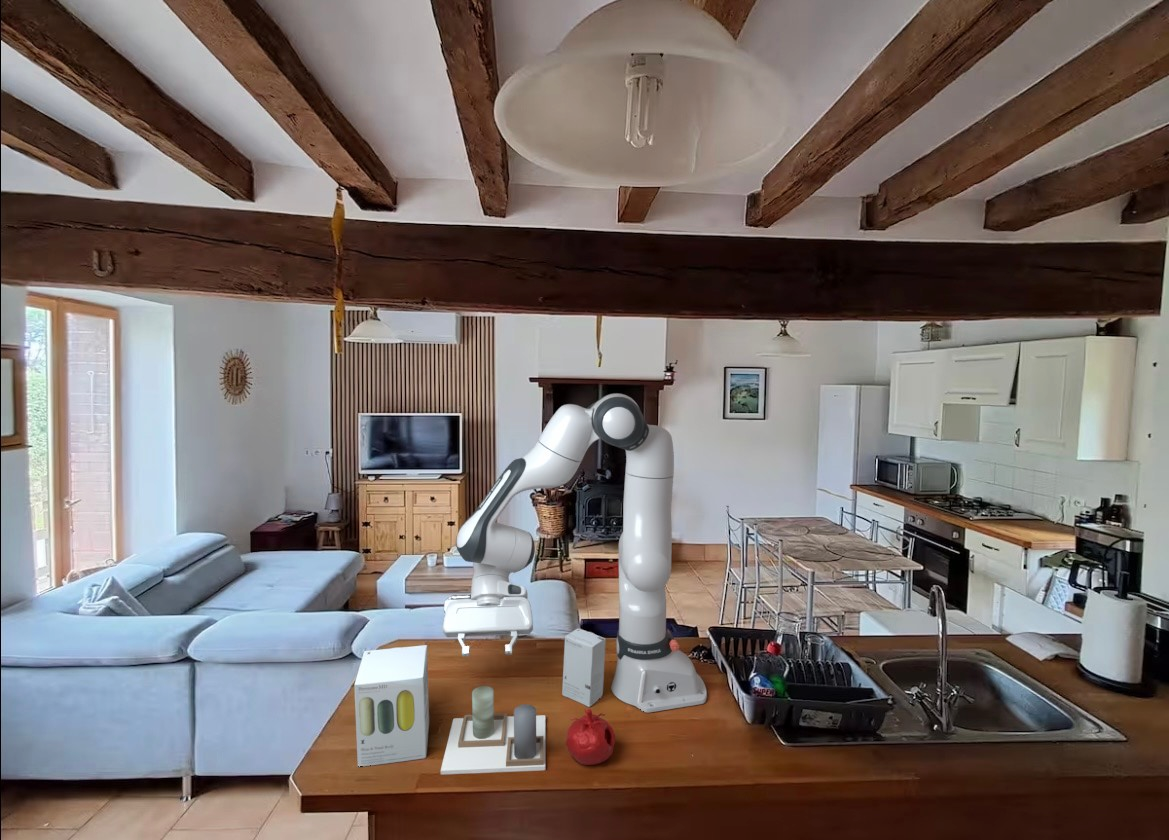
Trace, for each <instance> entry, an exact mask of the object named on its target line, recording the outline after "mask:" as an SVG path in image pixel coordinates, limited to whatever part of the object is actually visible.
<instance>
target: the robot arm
mask: <svg viewBox="0 0 1169 840" xmlns="http://www.w3.org/2000/svg"><path fill="white" fill-rule="evenodd" d="M600 439H601V440H602V441H603V442H604V443H607V444H608V445H611V446H614V447H616V448H620V449H623V450H625V456H626V458H625V460H626V461H625V462H626V463H625V475H624V490H623V503H622V505H623V507H622V508H623V509H622V510H623V517H622V518H623V519H622V520H623V522H622V523H623V524H622V525H623V526H622V532H621V534H620V537H619V541H618V589H619V590H618V593H619V594H618V597H619V599H618V600H619V603H618V604H619V609H618V610H619V612H618V613H619V615H618V621H619V622H618V630H617V631H616V632H617V634H616V635H617V636H616V648H615V649H616V654H617V659H616V667H615V672H614V675H613V680H612V683H611V688H610V689H611V691H612V693H613V695H614V696H615V697H616V698H617V699H619V700H620V701H622V702H623V703H625V704H628V705H631V706H634V707H636V708H638V709H639V710H640V709H641V710H640V711H642V712H643V711H644V712H643V713H648V714H649V713H653V712H654V713H655V712H661V711H667V710H672V709H673V710H674V709H679V708H684V707H685V708H686V707H692V706H697V705H703V704H705V703H706V701H707V698H708V694H707V693H708V692H707V688H706V684H705V682H704V680H703V679H702V677H701V676H700V675H699V674H698V673H697V672H696V667H695V666H694V664H693V662H692V660H691V659H690V658H689V656H688V655H687V654H686V653H684V652H683V651H681V650H680V644H679V643H678V641H677V640H676V639H675V638H674V635H673V634H672V633H671V631H670V630H669V629H668V628H667V595H666V585H667V583H668V582H669V581H670V578H671V572H672V553H673V552H672V547H673V546H672V545H673V544H672V541H673V540H672V539H673V538H672V536H673V533H672V532H673V531H672V503H673V502H672V501H673V486H674V473H675V471H674V470H675V455H674V454H675V453H674V444H673V442H674V441H673V437H672V435H671V433H670V431H669V430H667V429H665V428H664V427H662V426H659V425H655V424H649V423H647V422H646V419H645V417H644V415H643V413H642V411H641V409H640V407H639V405H638V403H637V402H636V401H635V400H634V399H633V398H632V397H630V396H629V395H627V394H625V393H624V394H623V393H619V392H613V393H608V394H606V395H603V396H602V397H601V398H599V399H598V400H596V401H595V402H593V403H592V404H590V405H589V406H587V407H586V408H585V407H583V406H580V405H578V404H573V403H567V404H563V405H561V406H560V407H559V408H558V409H557V410H556V411H555V413H554V414H553V415H552V416H551V418H550V419H549V421H548V423H547V424H546V426H545V428H543V431H542V432H541V435H540V436H539V438H538V440H537V442H536V443H535V445H534V446H533V447H532V448H531V449H530V451H529V452H527V453H526V454H525V455H524V456H522V457H520V458H515V459H514V460H512V461H511V462H510V464H509V465H507V467H506V468H505V469H504V471H503V472H502V473H501V474H500V476H499V477H498V479H497V480H496V481H495V483H494V484H493V486H491V488H490V489H489V491H488V492H487V494H486V495H485V497H484V498H483V499H482V500H481V502H480V504H479V505H478V507H477V508H476V509H475V510H474V512H473V513H472V514H471V515H470V516H469V517H468V518H467V519H466V520H465V521H464V522H463V523H462V525H461V526H460V528H459V530H458V531H457V535H456V537H455V547H456V549H457V552H458V554H459V555H460V557H461V558H462V560H464V561H465V562H468V563H472V568H473V575H472V578H471V587H470V588H471V589H470V594H461V595H460V594H459V595H458V594H454V595H451V596H450V597H448V598H446V600H445V601H444V604H443V612H444V616H443V617H444V618H443V622H442V632H443V634H444V636H445V637H446V638H457V640H458V642H459V644H460V646H461V656H462V658H464V657H470V652H471V651H470V646H469V645H467V646H466V644H465V642H466V637H487V636H489V637H490V636H510V638H511V640H510V643H509V644H505V645H504V647H505V651H504V654H505V655H506V656H509V655H513V647H514V646H515V644H516V642H517V641H518V635H530V634H531V633H532V631H533V630H534V622H533V612H532V607H531V602H530V601H529V599H528V591H527V587H525V586H523V585H520V584H517V583H516V584H515V583H513V582H510V580H509V576H510V575H511V574H512V573H513V574H515V573H517V572H520V571H522V570H524V569H526V568H527V567H528V566H529V565H531V563H532V562H533V560H534V558H535V552H536V550H535V549H536V545H535V540H534V537H533V535H532V534H531V533H530V532H529V531H527V530H526V529H525V530H524V529H521V528H519V527H514V526H511V525H506V524H501V523H499V522H497V520H498V519H499V517H500V516H501V515H502V513H503V512H504V511H505V509H506V508H507V506H508V505H509V503H510V502H511V501H512V499H513V498H515V496H517V495H518V494H520V493H523V492H526V491H530V490H536V489H537V490H539V489H540V490H541V489H553V488H558V487H560V486H563V485H565V484H566V483H568V482H569V481H571V479H572V478H573V477H574V476H575V474H576V472H577V471H578V468H579V467H580V464H581V463H582V461H583V459H584V457H585V454H586V452H587V451H588V449H589V448H590V446H592V444H593V443H595V442H596V441H598V440H600Z"/></svg>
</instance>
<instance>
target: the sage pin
mask: <svg viewBox="0 0 1169 840" xmlns="http://www.w3.org/2000/svg"><path fill="white" fill-rule="evenodd" d="M494 695H495V693H494V688H493V687H491V686H488V685H482V686H478V687H475V688H474V689H473V690H472V692H471V701H472V702H471V703H472V704H471V705H472V706H471V707H472V712H471V713H472V714H471V715H472V716H473V736H474V737H476V738H478V739H486V738H489V737H490V736H492V735H493V733H494V714H495V709H494V708H495V707H494V705H495V702H494V701H495V700H494Z"/></svg>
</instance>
